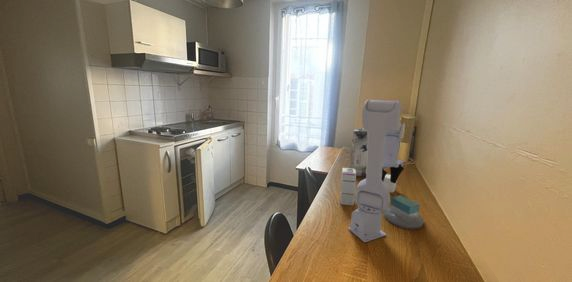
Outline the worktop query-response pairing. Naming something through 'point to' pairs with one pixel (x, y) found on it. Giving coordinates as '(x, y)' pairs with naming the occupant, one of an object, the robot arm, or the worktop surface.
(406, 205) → the block
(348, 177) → the syrup box
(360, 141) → the juice carton
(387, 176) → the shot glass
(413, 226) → the slate stand
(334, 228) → the worktop surface
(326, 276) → the worktop surface
